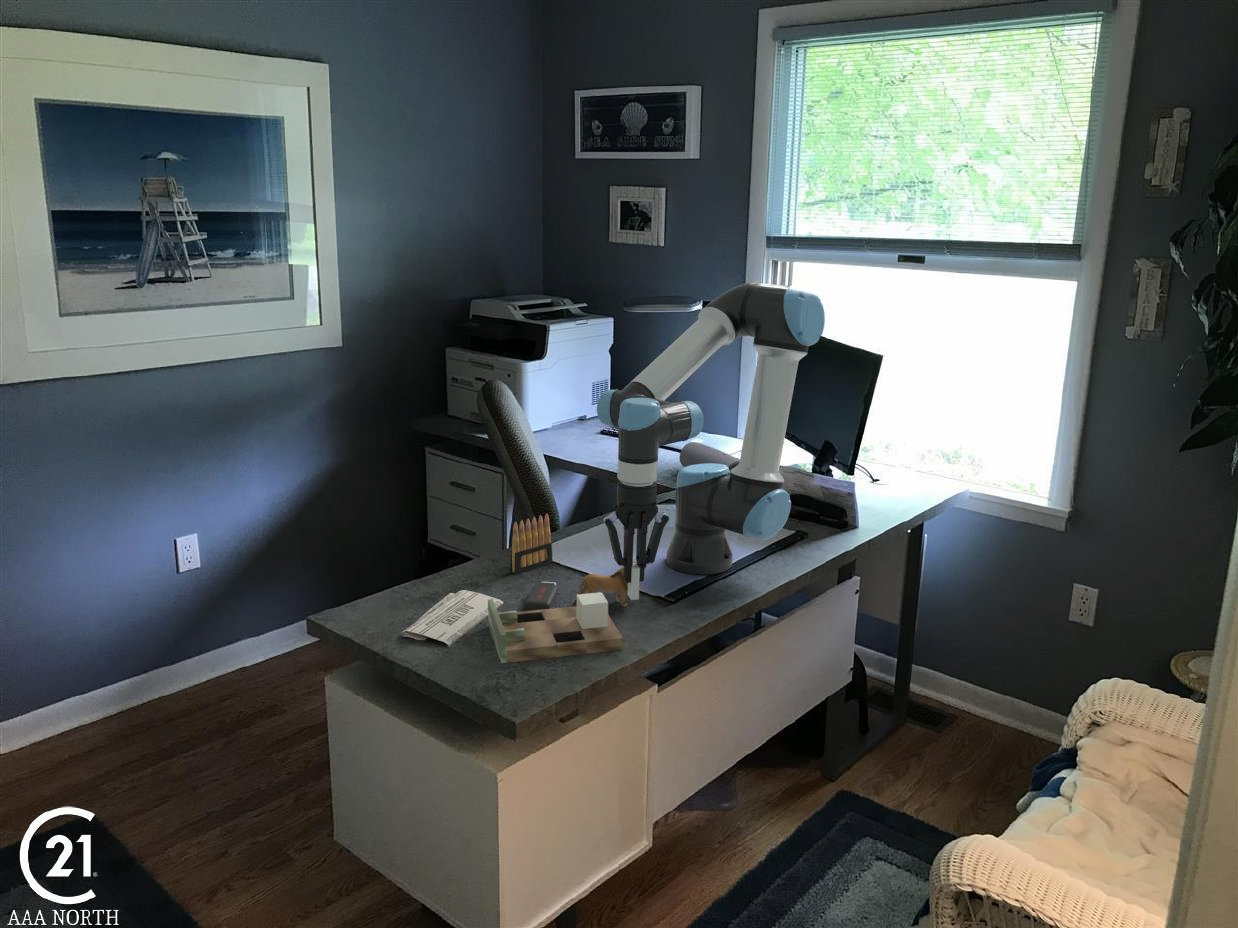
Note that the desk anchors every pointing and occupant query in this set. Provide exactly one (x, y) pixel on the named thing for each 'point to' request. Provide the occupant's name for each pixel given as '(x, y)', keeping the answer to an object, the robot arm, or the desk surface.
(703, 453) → the grey long tapered piece
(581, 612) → the cream block
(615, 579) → the lion figurine
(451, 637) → the newspaper
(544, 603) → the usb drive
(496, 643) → the trap deck
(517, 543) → the ammunition clip
